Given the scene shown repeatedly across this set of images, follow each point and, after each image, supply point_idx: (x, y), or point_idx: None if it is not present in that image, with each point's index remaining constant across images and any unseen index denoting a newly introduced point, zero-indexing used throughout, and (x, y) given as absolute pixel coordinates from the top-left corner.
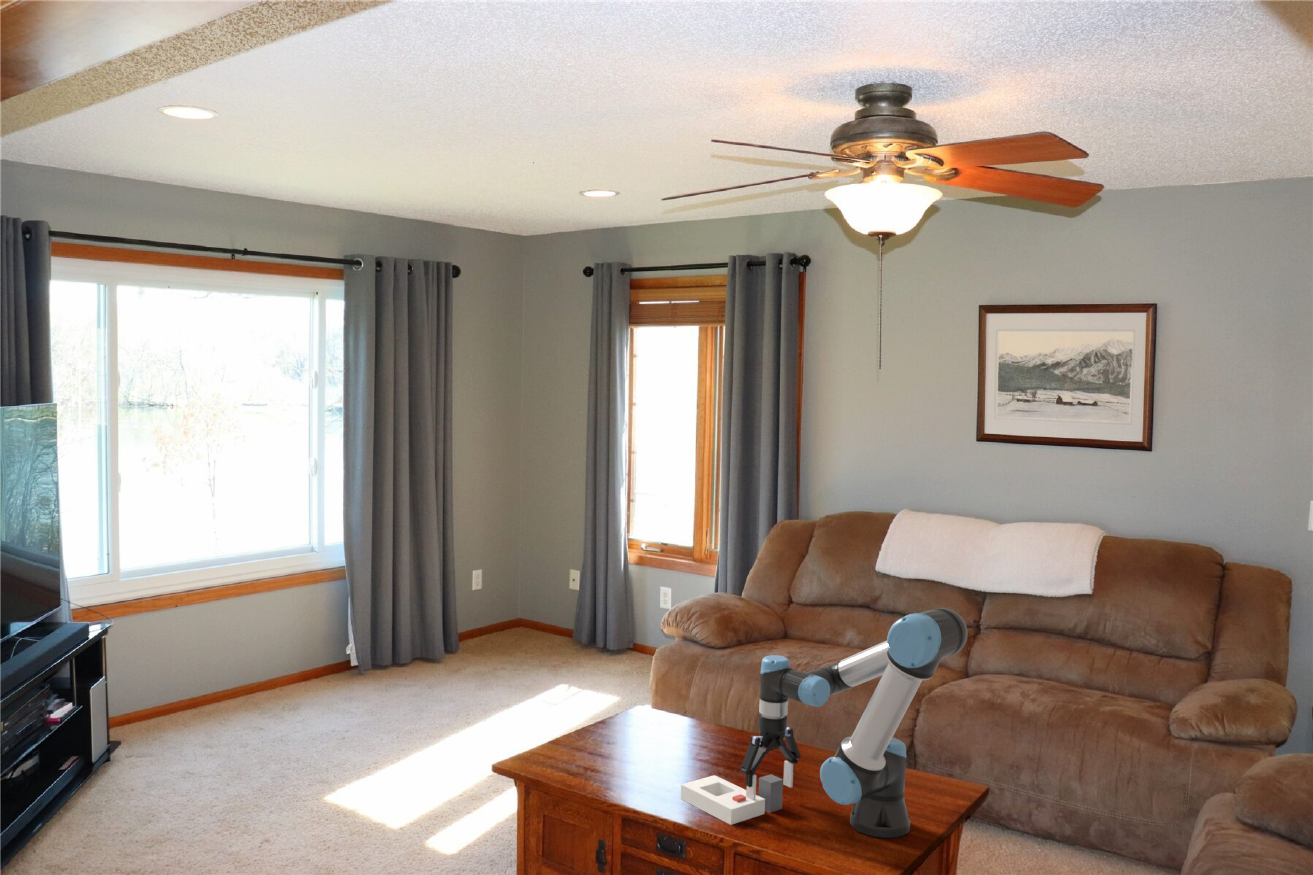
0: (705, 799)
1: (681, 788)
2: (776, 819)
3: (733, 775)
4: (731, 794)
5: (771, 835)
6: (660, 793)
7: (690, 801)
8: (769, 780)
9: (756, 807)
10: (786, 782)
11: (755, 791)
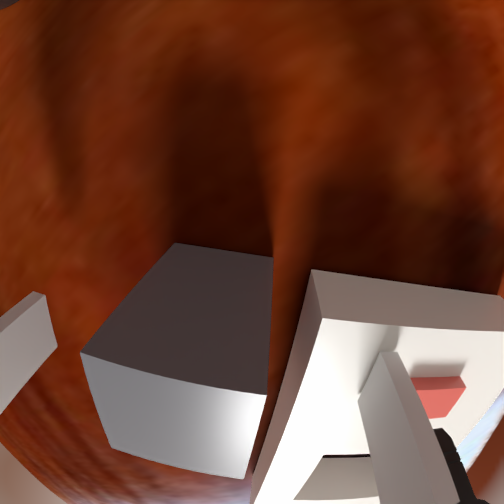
0: None
1: None
2: (317, 177)
3: (130, 468)
4: None
5: (485, 96)
6: None
7: None
8: (217, 426)
9: (388, 303)
10: (41, 336)
11: (400, 389)
